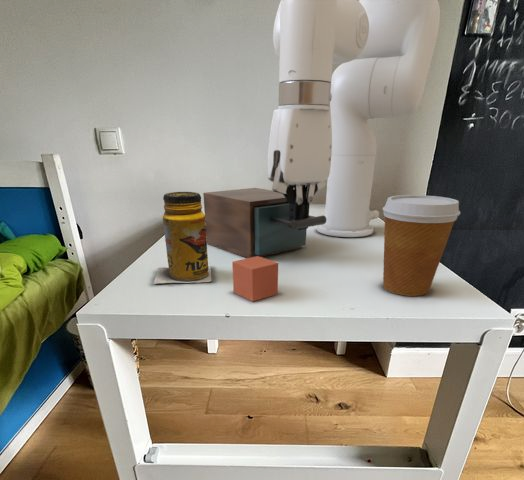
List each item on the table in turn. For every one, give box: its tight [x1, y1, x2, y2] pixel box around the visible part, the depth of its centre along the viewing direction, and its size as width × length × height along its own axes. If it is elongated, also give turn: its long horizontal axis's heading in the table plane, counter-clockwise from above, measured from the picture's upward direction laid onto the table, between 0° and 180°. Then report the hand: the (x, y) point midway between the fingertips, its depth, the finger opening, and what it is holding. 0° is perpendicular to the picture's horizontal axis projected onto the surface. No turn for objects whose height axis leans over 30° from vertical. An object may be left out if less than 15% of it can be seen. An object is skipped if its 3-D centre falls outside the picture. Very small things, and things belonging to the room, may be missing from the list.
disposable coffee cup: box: [382, 194, 461, 297], centre depth 53 cm, size 10×10×12 cm
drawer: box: [253, 202, 326, 255], centre depth 71 cm, size 20×11×8 cm, turn 39°
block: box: [232, 256, 279, 302], centre depth 53 cm, size 4×4×4 cm
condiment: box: [152, 191, 212, 285], centre depth 57 cm, size 7×8×12 cm
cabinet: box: [202, 187, 303, 259], centre depth 74 cm, size 15×13×10 cm
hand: (298, 227), depth 65 cm, fingers closed
